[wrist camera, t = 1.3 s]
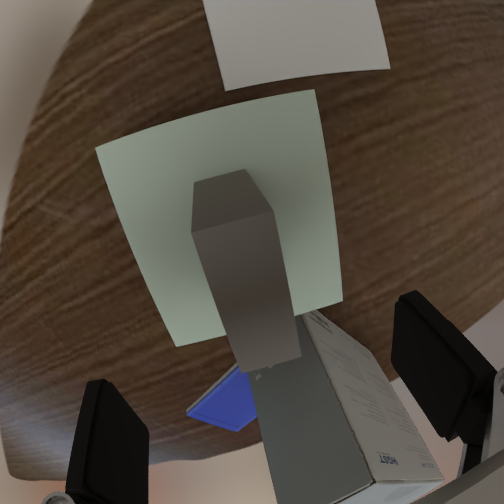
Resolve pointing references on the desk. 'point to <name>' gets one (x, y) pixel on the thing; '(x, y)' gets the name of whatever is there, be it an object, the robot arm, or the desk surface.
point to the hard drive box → (338, 425)
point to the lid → (232, 222)
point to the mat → (293, 39)
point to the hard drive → (226, 402)
